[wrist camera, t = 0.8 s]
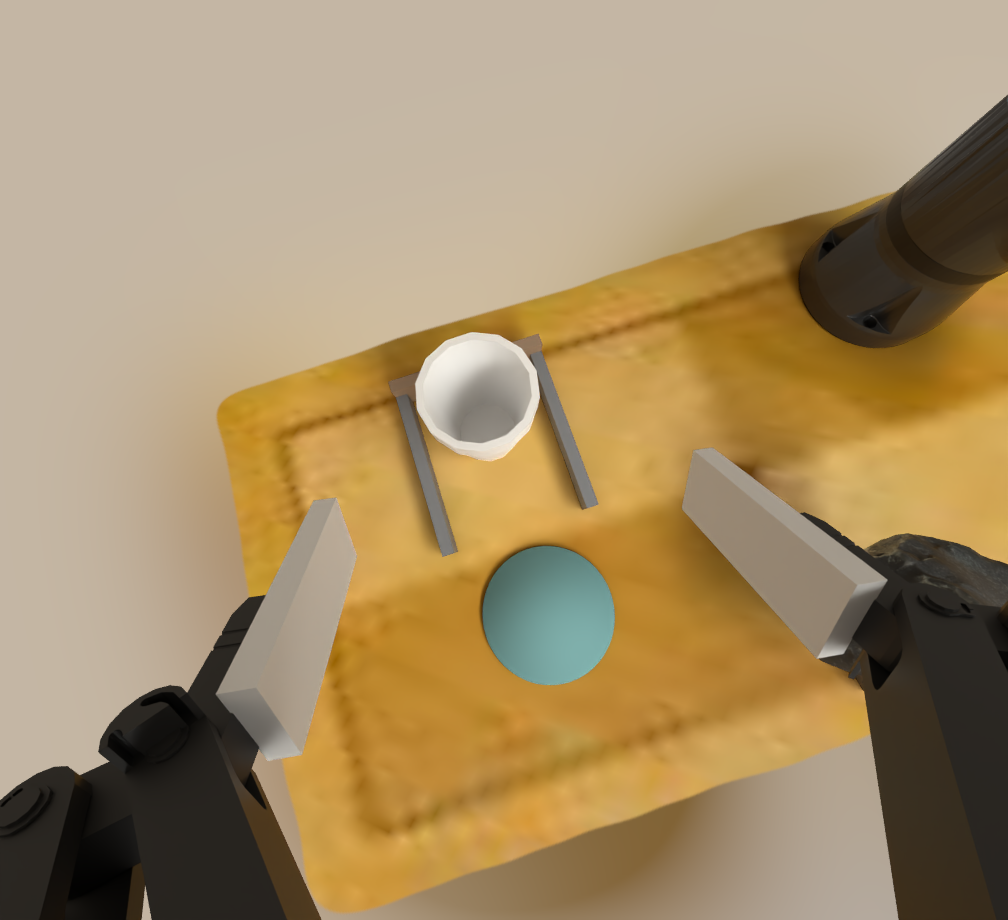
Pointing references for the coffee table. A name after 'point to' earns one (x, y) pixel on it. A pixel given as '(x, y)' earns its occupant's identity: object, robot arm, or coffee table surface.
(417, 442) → the cup lane
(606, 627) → the teal mat
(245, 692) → the robot arm
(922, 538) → the grey rock
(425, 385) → the foam cup
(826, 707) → the coffee table surface
